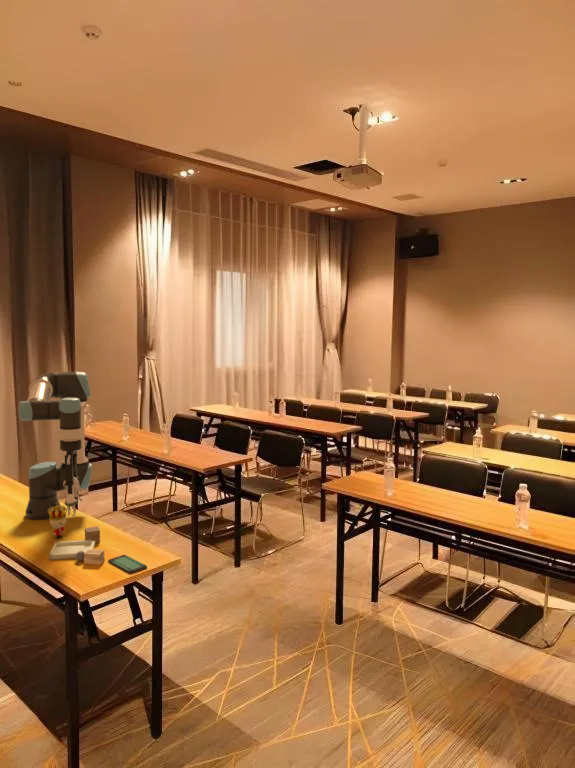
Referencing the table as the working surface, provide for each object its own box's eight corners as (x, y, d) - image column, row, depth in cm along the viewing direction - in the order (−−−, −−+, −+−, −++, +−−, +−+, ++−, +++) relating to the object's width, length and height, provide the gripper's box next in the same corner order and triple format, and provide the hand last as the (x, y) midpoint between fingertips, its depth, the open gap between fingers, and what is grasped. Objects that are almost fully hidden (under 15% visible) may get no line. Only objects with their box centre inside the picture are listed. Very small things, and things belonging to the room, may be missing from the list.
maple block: (88, 559, 213) (88, 549, 212) (104, 560, 212) (104, 550, 212) (84, 564, 209) (84, 553, 208) (100, 564, 208) (99, 554, 208)
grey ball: (76, 558, 212) (76, 549, 212) (86, 558, 213) (86, 549, 213) (75, 562, 209) (75, 553, 209) (85, 562, 210) (85, 552, 209)
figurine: (55, 515, 216) (54, 477, 215) (66, 511, 222) (66, 473, 221) (77, 519, 213) (77, 480, 211) (88, 514, 219) (88, 476, 217)
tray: (55, 546, 224) (55, 541, 224) (95, 543, 227) (95, 539, 227) (49, 559, 211) (48, 555, 211) (91, 557, 214) (91, 552, 214)
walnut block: (85, 539, 231) (84, 527, 231) (97, 537, 233) (97, 526, 233) (86, 544, 227) (86, 532, 226) (100, 542, 229) (99, 530, 228)
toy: (60, 541, 229) (60, 505, 227) (44, 539, 230) (43, 503, 228) (71, 535, 236) (70, 499, 234) (55, 533, 237) (54, 498, 235)
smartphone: (124, 553, 216) (147, 565, 206) (124, 557, 216) (147, 568, 206) (107, 559, 210) (129, 571, 201) (107, 562, 211) (129, 575, 201)
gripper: (64, 434, 223) (65, 492, 225) (55, 444, 204) (57, 507, 207) (84, 433, 224) (85, 491, 227) (77, 444, 206) (78, 506, 208)
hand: (71, 498), depth 217 cm, fingers closed on figurine, 6 cm apart
